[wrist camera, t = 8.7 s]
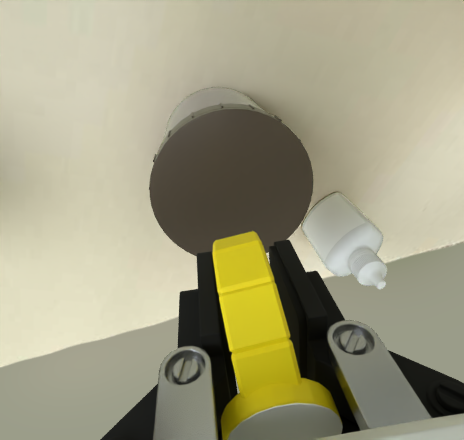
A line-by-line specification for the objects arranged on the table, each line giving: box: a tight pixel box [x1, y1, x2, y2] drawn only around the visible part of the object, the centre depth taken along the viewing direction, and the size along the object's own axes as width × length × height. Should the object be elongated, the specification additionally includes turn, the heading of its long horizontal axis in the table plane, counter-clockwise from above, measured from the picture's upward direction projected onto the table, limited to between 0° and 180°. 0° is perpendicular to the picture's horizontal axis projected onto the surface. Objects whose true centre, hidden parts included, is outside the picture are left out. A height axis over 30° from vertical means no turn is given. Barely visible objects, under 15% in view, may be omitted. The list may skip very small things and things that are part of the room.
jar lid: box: [149, 103, 313, 256], centre depth 21 cm, size 10×10×2 cm
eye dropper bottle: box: [302, 192, 387, 289], centre depth 31 cm, size 4×6×12 cm
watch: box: [213, 231, 343, 440], centre depth 10 cm, size 6×3×6 cm, turn 12°
